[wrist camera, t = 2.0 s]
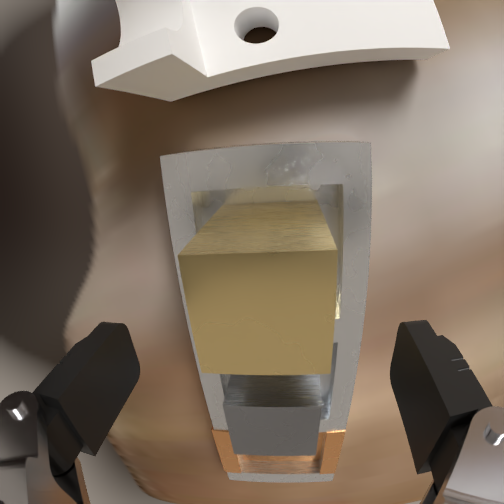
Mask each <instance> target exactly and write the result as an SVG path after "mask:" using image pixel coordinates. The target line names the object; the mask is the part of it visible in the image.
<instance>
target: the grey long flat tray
mask: <svg viewBox="0 0 504 504" xmlns="http://www.w3.org/2000/svg"><path fill="white" fill-rule="evenodd" d="M160 162H161V170H162V178H163V186H164V193H165V201H166V208H167V214H168V221H169V227H170V234H171V240H172V246H173V252H174V258H175V263H176V269H177V274H178V279H179V285H180V290H181V295H182V300H183V305H184V310H185V315H186V319H187V324H188V329H189V333H190V338H191V342H192V346H193V351H194V355H195V359H196V363H197V367H198V372H199V376H200V380H201V383H202V387H203V391H204V395H205V399H206V403H207V406H208V410H209V414H210V417H211V421H212V424H213V426H212V429H211V430H212V433H213V437H214V440H215V443H216V446H217V450H218V453H219V456H220V459H221V462H222V465H223V468H224V471H226V472H227V473H228V477H229V480H240V481H255V482H321V481H332V480H333V476H334V473H335V470H336V467H337V463H338V459H339V455H340V451H341V447H342V443H343V439H344V435H345V429H346V424H347V420H348V415H349V410H350V405H351V400H352V395H353V389H354V384H355V378H356V372H357V366H358V360H359V353H360V346H361V339H362V332H363V323H364V315H365V306H366V296H367V285H368V273H369V258H370V240H371V211H372V161H371V143H369V142H360V141H321V142H290V143H270V144H255V145H242V146H231V147H220V148H211V149H202V150H193V151H185V152H178V153H173V154H168V155H163V156H160ZM294 201H318V203H319V206H320V208H321V210H322V213H323V215H324V218H325V220H326V222H327V225H328V227H329V230H330V232H331V234H332V237H333V239H334V242H335V244H336V247H337V249H338V258H337V288H336V308H335V325H334V339H333V351H332V362H331V373H330V374H320V387H321V401H322V409H321V418H320V427H319V435H318V442H317V450H316V455H313V456H259V455H240V454H234V452H233V447H232V443H231V439H230V435H229V431H228V427H227V422H226V418H225V414H224V409H223V402H224V398H225V394H226V390H227V386H228V382H229V378H230V374H213V373H202V372H201V368H200V364H199V360H198V355H197V351H196V347H195V342H194V338H193V333H192V328H191V324H190V319H189V314H188V309H187V304H186V299H185V294H184V289H183V283H182V278H181V272H180V267H179V261H178V254H179V253H180V252H181V251H182V249H183V248H184V247H185V246H186V245H187V244H188V243H189V242H190V240H191V239H192V238H193V237H194V236H195V235H196V234H197V233H198V231H199V230H200V229H201V228H202V227H203V226H204V225H205V224H206V223H207V221H208V220H209V219H210V218H211V217H212V216H213V215H214V214H215V213H216V212H217V211H218V209H219V208H220V207H221V206H222V205H233V204H250V203H270V202H294Z"/></svg>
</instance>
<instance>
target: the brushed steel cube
mask: <svg viewBox="0 0 504 504" xmlns="http://www.w3.org/2000/svg"><path fill="white" fill-rule="evenodd" d="M223 409H224V414H225V418H226V422H227V427H228V431H229V435H230V439H231V443H232V447H233V452H234V454H240V455H259V456H313V455H316V450H317V442H318V435H319V427H320V418H321V409H322V401H321V387H320V374H311V375H235V374H230V378H229V382H228V386H227V390H226V394H225V398H224V402H223Z"/></svg>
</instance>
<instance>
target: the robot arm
mask: <svg viewBox="0 0 504 504" xmlns="http://www.w3.org/2000/svg"><path fill="white" fill-rule="evenodd" d="M139 375H140V365H139V361H138V358H137V355H136V352H135V349H134V346H133V343H132V340H131V337H130V333H129V330H128V328H127V326H126V325H125V324H122V323H110V322H101V323H100V324H99V325H98V326H97V327H96V328H95V329H94V330H93V331H92V332H91V333H90V334H89V336H87V337H86V338H84V339H83V340H81V341H79V342H78V343H76V344H75V345H74V346H73V347H72V349H71V350H70V351H69V352H68V353H67V356H64V357H63V359H62V360H61V361H60V364H57V365H56V366H55V367H54V369H53V370H52V371H51V372H50V373H49V374H48V375H47V377H46V378H45V379H44V380H43V381H42V382H41V384H40V385H39V386H38V387H37V388H36V389H35V391H34V392H33V393H31V392H28V391H18V392H14V393H12V394H10V395H8V396H7V397H5V398H4V399H3V400H2V401H1V403H0V504H90V501H89V497H88V493H87V489H86V485H85V481H84V476H83V472H82V467H81V463H80V461H79V459H78V458H77V456H78V454H79V453H80V451H81V452H84V453H87V454H90V455H93V456H96V454H97V452H98V450H99V448H100V446H101V445H102V443H103V441H104V439H105V438H106V436H107V434H108V432H109V430H110V429H111V427H112V425H113V423H114V422H115V420H116V418H117V416H118V415H119V413H120V411H121V409H122V408H123V406H124V404H125V402H126V401H127V399H128V397H129V395H130V394H131V392H132V390H133V389H134V387H135V385H136V383H137V382H138V379H139ZM390 380H391V385H392V389H393V392H394V395H395V398H396V401H397V404H398V407H399V411H400V414H401V417H402V421H403V424H404V427H405V431H406V434H407V438H408V442H409V445H410V449H411V453H412V456H413V460H414V464H415V468H416V472H417V474H421V473H425V472H429V471H431V472H432V475H433V481H432V482H431V484H430V485H429V487H428V489H427V491H426V493H425V495H424V497H423V499H422V500H421V502H420V504H504V408H502V407H495V406H492V404H491V402H490V401H489V399H488V397H487V395H486V394H485V392H484V390H483V388H482V387H481V385H480V383H479V382H478V380H477V378H476V377H475V375H474V373H473V372H472V370H471V369H469V365H468V364H467V362H466V360H465V359H464V360H463V356H462V354H461V353H460V351H459V349H458V348H457V346H456V345H455V344H454V343H452V342H451V341H450V340H448V339H447V338H446V337H444V336H443V335H441V336H437V335H436V333H435V332H434V330H433V329H432V327H431V326H430V324H429V323H428V321H427V320H420V321H410V322H402V323H400V325H399V328H398V332H397V337H396V343H395V347H394V352H393V357H392V361H391V367H390Z"/></svg>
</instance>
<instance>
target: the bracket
mask: <svg viewBox="0 0 504 504" xmlns="http://www.w3.org/2000/svg"><path fill="white" fill-rule="evenodd" d="M115 1H116V4H117V8H118V11H119V16H120V24H121V38H120V43H119V47H118V48H116V49H113V50H111V51H109V52H107V53H105V54H103V55H102V56H100V57H98V58H96V59H94V60H92V61H91V63H92V69H93V76H94V81H95V87H100V88H106V89H112V90H118V91H123V92H128V93H133V94H138V95H143V96H148V97H152V98H157V99H161V100H165V101H170V102H172V101H175V100H178V99H181V98H184V97H187V96H191V95H194V94H197V93H200V92H204V91H207V90H211V89H214V88H218V87H222V86H226V85H229V84H233V83H237V82H241V81H246V80H250V79H254V78H259V77H264V76H268V75H273V74H278V73H284V72H289V71H295V70H301V69H307V68H314V67H321V66H328V65H337V64H346V63H356V62H368V61H384V60H427V59H429V58H431V57H433V56H435V55H438V54H440V53H442V52H444V51H446V50H448V49H450V47H449V44H448V41H447V38H446V34H445V31H444V28H443V25H442V23H441V20H440V17H439V14H438V12H437V9H436V6H435V4H434V1H433V0H115ZM257 27H268V28H271V29H273V30H274V31H276V32H277V33H276V35H275V36H274V37H273V38H272V39H270V40H269V41H266V42H264V43H259V44H253V43H248V42H245V41H243V40H244V37H245V35H246V34H247V33H248V32H249V31H250V30H252V29H254V28H257Z"/></svg>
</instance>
